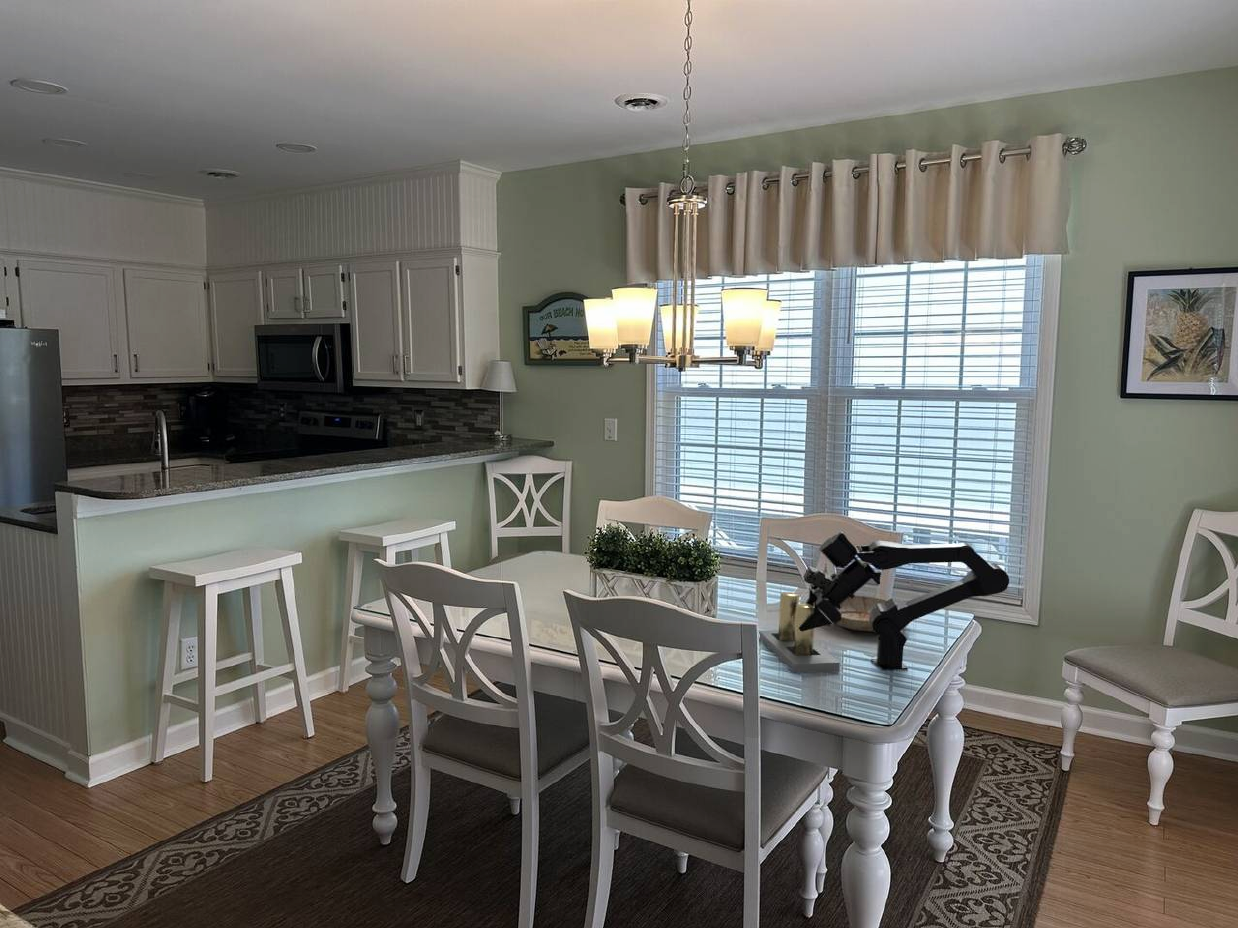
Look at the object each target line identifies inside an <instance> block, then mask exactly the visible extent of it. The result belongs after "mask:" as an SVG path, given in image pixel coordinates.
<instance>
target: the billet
mask: <svg viewBox="0 0 1238 928" xmlns="http://www.w3.org/2000/svg"><path fill="white" fill-rule="evenodd" d="M799 598H800V594H798V593H796V592H792V591H791V592H789V591H785V592H780V599H779V600H780V601H779V619H778V630H779V633H778V641H779V642H794V637H795V619H796V605H797V604H800V603H799V601H800V599H799Z"/></svg>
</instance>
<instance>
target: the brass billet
mask: <svg viewBox="0 0 1238 928" xmlns="http://www.w3.org/2000/svg"><path fill="white" fill-rule="evenodd" d="M812 612H813V605H810V604H805V603H799V604H797V605H796V619H795V637H794V655H795V656H810V655H813V643H814V642H815V628H813V629H810V630H806V631H800V630H799V627H800V625H801V624H802V623H803V622H804V621H805V620H806V618H807V617H808V616H809V615H810V614H811V613H812Z"/></svg>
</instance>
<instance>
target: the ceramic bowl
mask: <svg viewBox="0 0 1238 928" xmlns="http://www.w3.org/2000/svg"><path fill="white" fill-rule="evenodd" d="M854 595H855V594H854ZM888 600H889V599H888ZM888 600H887V599H883V598H879V597H875V596H869V595H868V596H867V595H855V597H853V598H852V599H851V597H849V598H848V599H847V600H846V601H845V602H843V603H842V604H841V608H840V609H839V610H840V612H841V614H842V615H841V620H840V621H839V622H838V623H837V624H836V625H837V626H838V627H839V626H840V627H842V628H845V629H849V630H854V631H859V632H874V630H873V628H872V625H871V623H870V620H869V616H870V613H871V611H872V610H873V609H874V608H876V607H877V605H876V604H881V603H884V602H886V601H888Z"/></svg>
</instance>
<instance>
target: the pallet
mask: <svg viewBox="0 0 1238 928" xmlns="http://www.w3.org/2000/svg"><path fill="white" fill-rule="evenodd" d="M778 633H779V629H777V630H775V629H773V630H759V631H758V635H759V634H760V639H759V641H760V642H762V643H763V644H764V645H765V646H766V647H767V648H768V649H769V650H770V651H771V652H772V653H774V655H775V656H776V657H777V658H778V659H779V660H780V661H782V663H784V665H786V666H787V667H788V668H789V669H790V670H791V672H793V673H797V674H798V673H799V674H801V673H819V672H821V673H822V672H839V671H840V667H841V666H840V665H841V662H840V661H838V659H836V658H835V657H834V656H833V655H831V654H830V653H829V652H828V651H827V650H825V649H824V648H823V647H822V646H820V645H819V644H818V643H816V642H815V641H814V643H813V655H810V656H795V655H794V642H779V641H778Z"/></svg>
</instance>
